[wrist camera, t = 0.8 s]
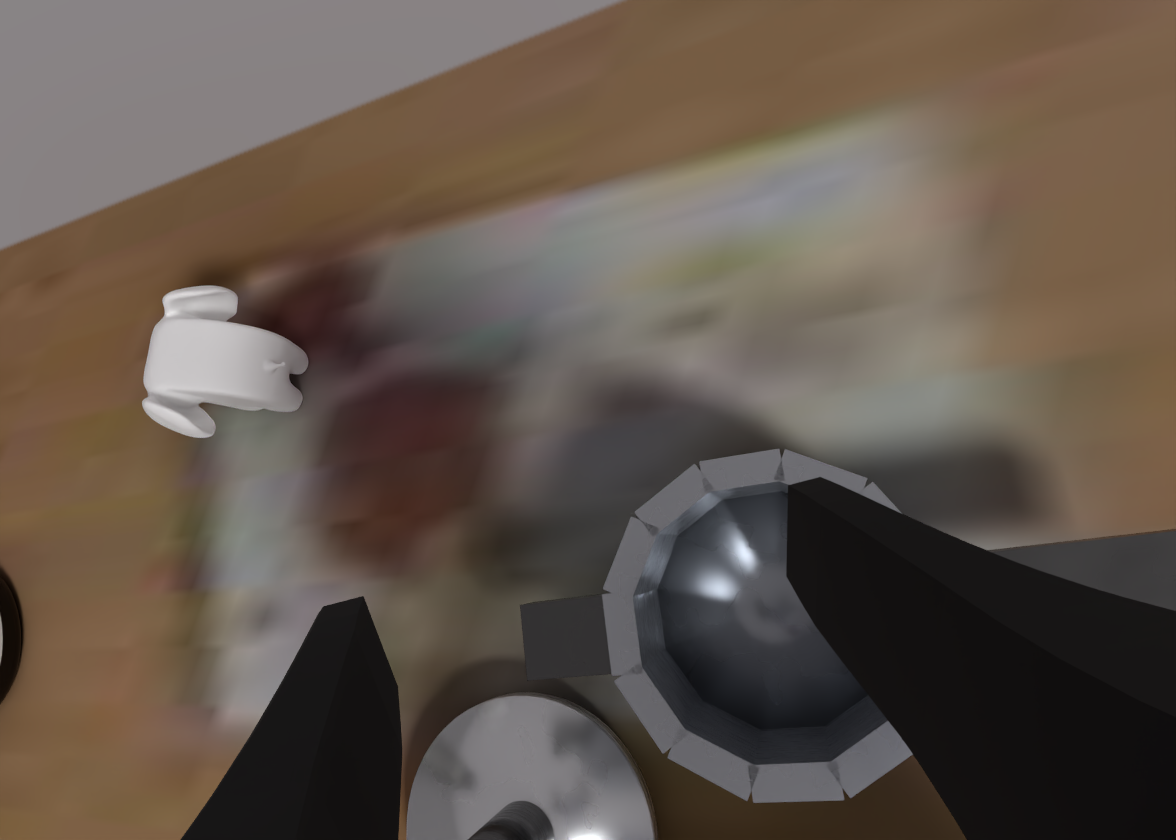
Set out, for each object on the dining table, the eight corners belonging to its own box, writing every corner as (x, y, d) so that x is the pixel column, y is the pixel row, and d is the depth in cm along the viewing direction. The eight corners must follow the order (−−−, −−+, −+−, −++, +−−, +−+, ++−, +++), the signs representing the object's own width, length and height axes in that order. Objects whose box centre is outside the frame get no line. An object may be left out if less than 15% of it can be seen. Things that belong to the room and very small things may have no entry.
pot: (1202, 732, 21) (1321, 787, 16) (585, 761, 26) (538, 808, 21) (1108, 416, 23) (1188, 382, 18) (556, 501, 28) (508, 492, 23)
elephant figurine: (221, 316, 35) (112, 273, 30) (351, 315, 33) (259, 268, 27) (197, 444, 34) (80, 424, 29) (329, 454, 32) (229, 434, 26)
